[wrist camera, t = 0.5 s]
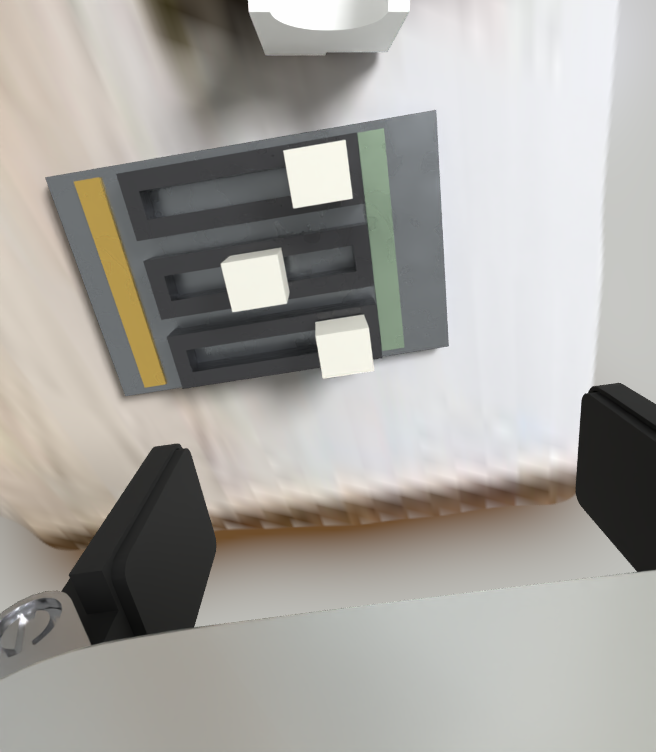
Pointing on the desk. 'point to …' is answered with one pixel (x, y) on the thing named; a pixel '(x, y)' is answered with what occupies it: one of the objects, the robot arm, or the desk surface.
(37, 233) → the desk surface
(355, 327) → the breaker handle
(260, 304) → the handle
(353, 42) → the bracket
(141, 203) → the breaker panel
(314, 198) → the block
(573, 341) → the desk surface
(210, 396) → the desk surface
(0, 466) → the desk surface
